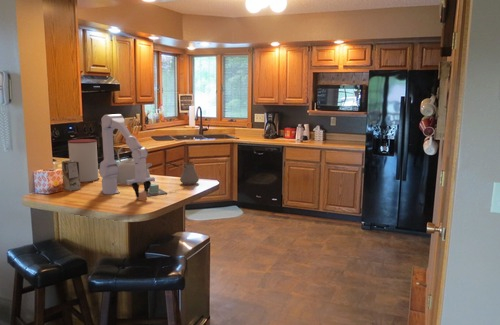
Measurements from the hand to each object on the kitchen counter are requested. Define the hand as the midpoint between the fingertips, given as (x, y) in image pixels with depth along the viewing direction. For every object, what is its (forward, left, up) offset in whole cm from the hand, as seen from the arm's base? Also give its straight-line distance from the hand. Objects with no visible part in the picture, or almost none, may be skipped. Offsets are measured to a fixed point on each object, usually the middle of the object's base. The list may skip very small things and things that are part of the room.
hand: (141, 196), depth 222 cm
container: (-64, -14, -2) cm, 66 cm away
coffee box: (-43, -26, -2) cm, 50 cm away
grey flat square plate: (-8, +10, -1) cm, 13 cm away
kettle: (-46, +11, -2) cm, 47 cm away
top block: (0, 0, -1) cm, 1 cm away
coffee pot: (-18, +32, -2) cm, 37 cm away
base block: (-8, +10, -1) cm, 13 cm away
